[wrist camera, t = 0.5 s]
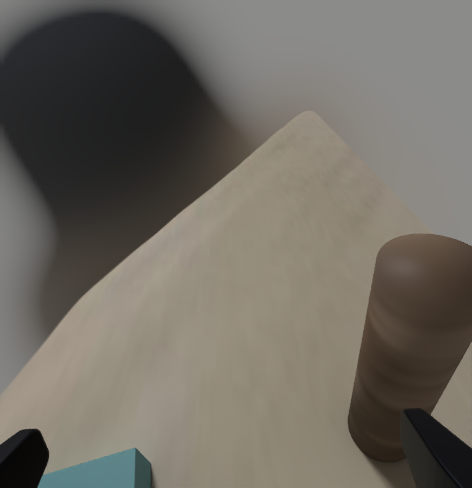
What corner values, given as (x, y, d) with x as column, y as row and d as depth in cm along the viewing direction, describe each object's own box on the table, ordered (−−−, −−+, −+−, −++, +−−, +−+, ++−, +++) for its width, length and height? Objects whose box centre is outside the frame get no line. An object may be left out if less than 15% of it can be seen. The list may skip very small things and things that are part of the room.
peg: (427, 451, 20) (533, 291, 10) (367, 471, 20) (420, 324, 10) (389, 390, 23) (445, 224, 14) (337, 406, 23) (356, 247, 13)
